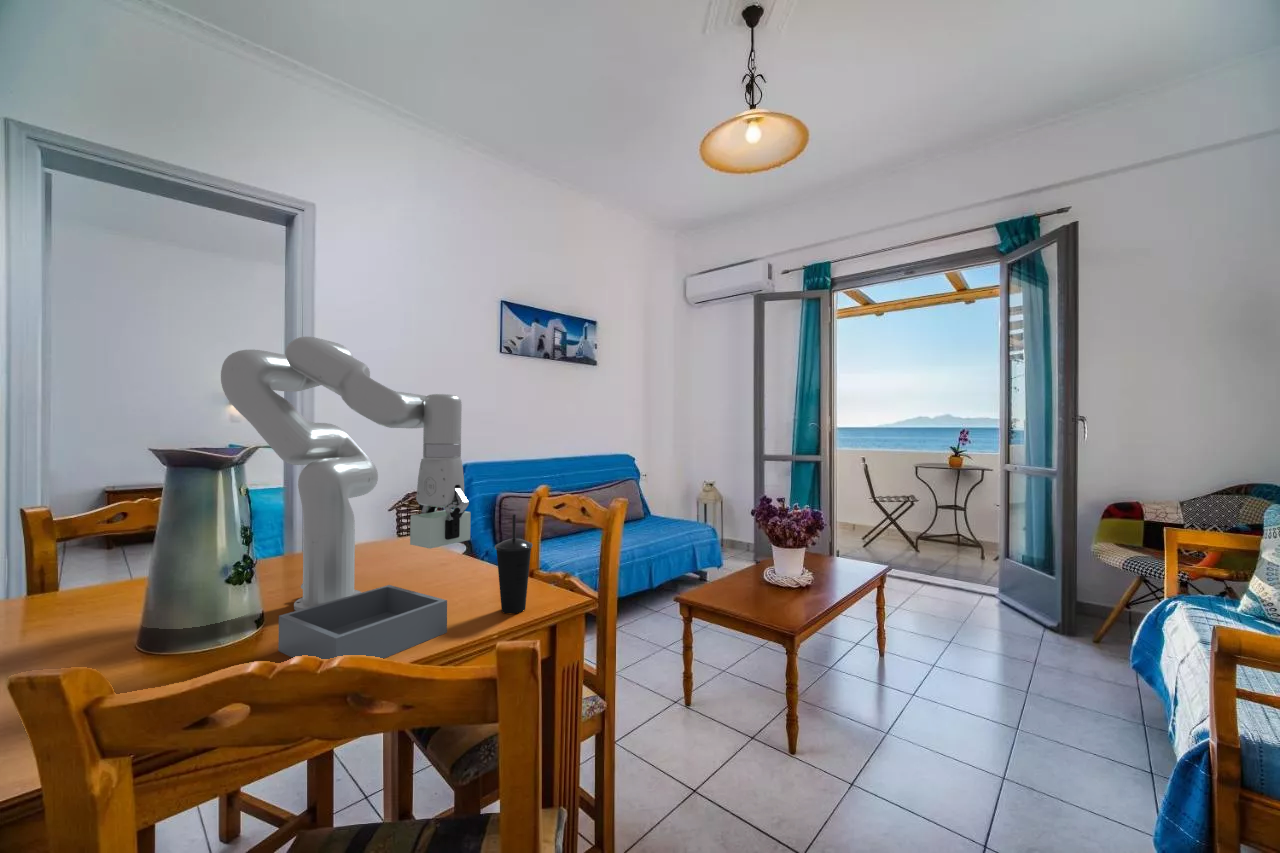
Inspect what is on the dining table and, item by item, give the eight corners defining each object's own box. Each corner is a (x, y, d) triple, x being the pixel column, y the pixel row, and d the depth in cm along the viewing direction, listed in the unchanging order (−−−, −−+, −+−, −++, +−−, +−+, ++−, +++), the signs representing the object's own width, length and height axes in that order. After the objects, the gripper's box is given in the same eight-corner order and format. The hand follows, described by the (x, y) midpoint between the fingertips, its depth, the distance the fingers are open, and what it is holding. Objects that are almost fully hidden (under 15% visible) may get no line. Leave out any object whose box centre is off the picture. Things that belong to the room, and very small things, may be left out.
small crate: (410, 544, 104) (410, 515, 104) (450, 536, 112) (450, 509, 112) (430, 548, 100) (430, 518, 100) (470, 539, 109) (470, 512, 109)
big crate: (278, 651, 85) (278, 615, 85) (389, 614, 102) (389, 584, 102) (335, 677, 76) (336, 638, 76) (446, 632, 93) (447, 600, 93)
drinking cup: (517, 601, 110) (517, 510, 110) (539, 609, 105) (540, 514, 106) (487, 610, 104) (487, 514, 105) (509, 619, 99) (510, 519, 100)
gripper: (401, 451, 108) (399, 534, 107) (454, 454, 99) (453, 544, 98) (431, 450, 114) (430, 529, 114) (484, 453, 105) (483, 538, 105)
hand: (441, 535), depth 106 cm, fingers closed on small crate, 6 cm apart
